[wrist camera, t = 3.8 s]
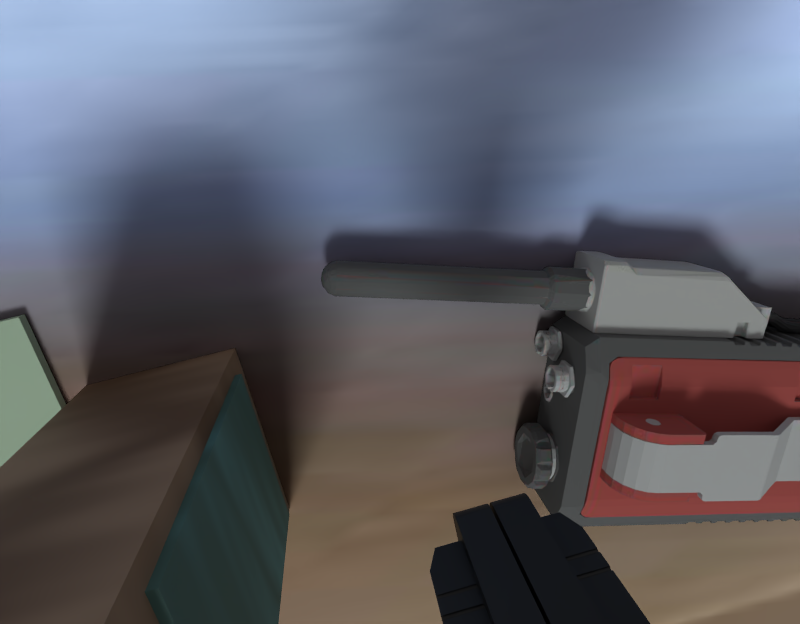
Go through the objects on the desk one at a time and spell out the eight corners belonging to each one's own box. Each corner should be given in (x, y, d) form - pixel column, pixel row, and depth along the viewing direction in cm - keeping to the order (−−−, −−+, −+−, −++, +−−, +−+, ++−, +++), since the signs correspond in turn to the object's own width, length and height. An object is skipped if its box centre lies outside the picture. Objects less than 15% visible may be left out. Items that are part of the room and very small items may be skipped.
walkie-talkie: (884, 266, 19) (322, 232, 16) (1044, 296, 15) (321, 259, 12) (814, 479, 21) (313, 486, 18) (934, 558, 17) (309, 584, 14)
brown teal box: (241, 346, 16) (119, 619, 7) (295, 506, 18) (261, 904, 8) (86, 385, 16) (-279, 732, 6) (157, 544, 18) (-42, 1001, 8)
